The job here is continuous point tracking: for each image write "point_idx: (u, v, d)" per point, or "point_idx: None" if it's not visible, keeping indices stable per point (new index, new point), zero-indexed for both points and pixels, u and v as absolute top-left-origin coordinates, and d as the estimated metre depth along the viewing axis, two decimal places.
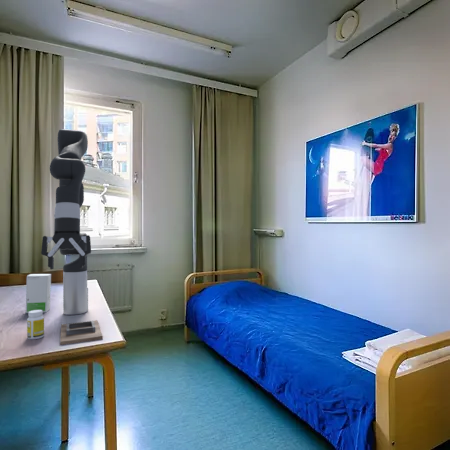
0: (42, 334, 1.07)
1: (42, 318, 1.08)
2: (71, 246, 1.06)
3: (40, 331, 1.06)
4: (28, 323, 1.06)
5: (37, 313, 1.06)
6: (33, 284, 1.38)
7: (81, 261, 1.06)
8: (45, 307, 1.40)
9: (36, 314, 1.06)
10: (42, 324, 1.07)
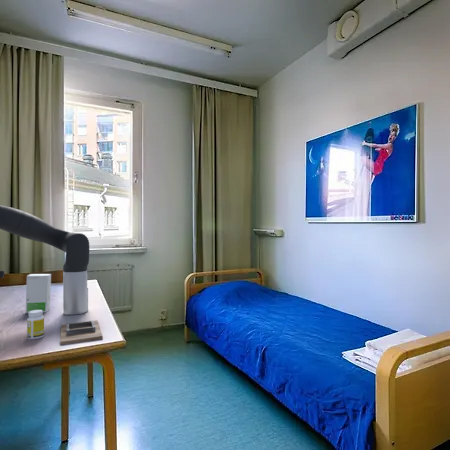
0: (42, 334, 1.07)
1: (42, 318, 1.08)
2: None
3: (40, 331, 1.06)
4: (28, 323, 1.06)
5: (37, 313, 1.06)
6: (33, 284, 1.38)
7: None
8: (45, 307, 1.40)
9: (36, 314, 1.06)
10: (42, 324, 1.07)
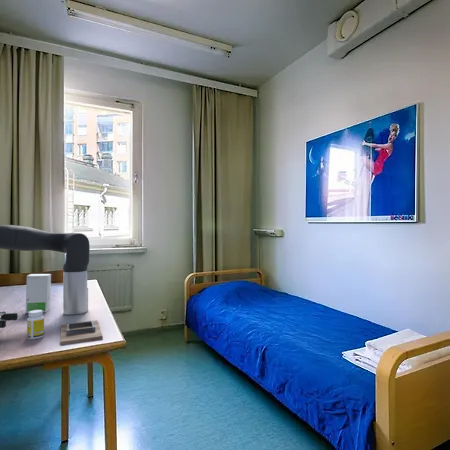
0: (42, 334, 1.07)
1: (42, 318, 1.08)
2: None
3: (40, 331, 1.06)
4: (28, 323, 1.06)
5: (37, 313, 1.06)
6: (33, 284, 1.38)
7: None
8: (45, 307, 1.40)
9: (36, 314, 1.06)
10: (42, 324, 1.07)
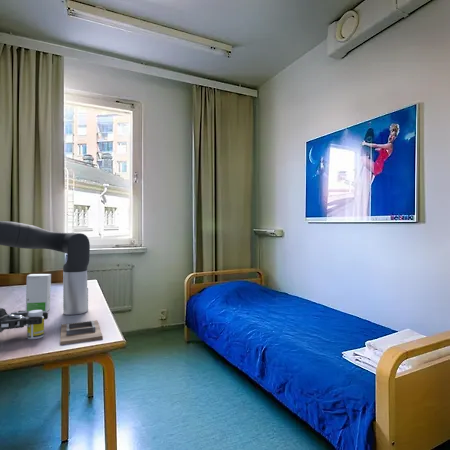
0: (42, 334, 1.07)
1: (42, 318, 1.08)
2: None
3: (40, 331, 1.06)
4: None
5: (37, 313, 1.06)
6: (33, 284, 1.38)
7: None
8: (45, 307, 1.40)
9: (36, 314, 1.06)
10: (42, 324, 1.07)
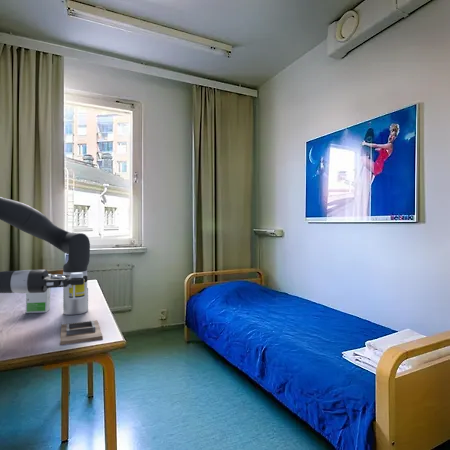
0: (83, 295, 1.11)
1: None
2: None
3: (81, 292, 1.10)
4: None
5: (79, 274, 1.10)
6: None
7: (77, 284, 1.09)
8: (45, 307, 1.40)
9: (78, 275, 1.10)
10: (83, 285, 1.11)
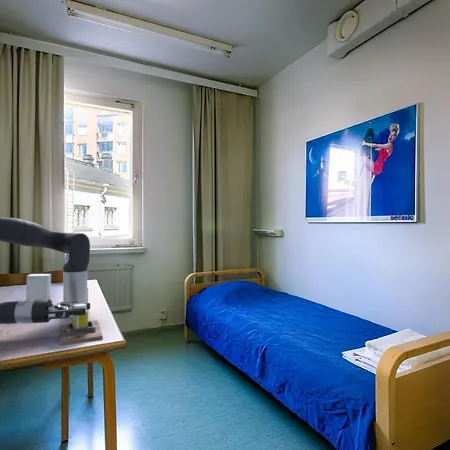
0: (86, 327, 1.11)
1: (86, 311, 1.12)
2: None
3: (84, 324, 1.10)
4: (74, 316, 1.10)
5: (82, 307, 1.10)
6: (33, 284, 1.38)
7: None
8: None
9: (81, 307, 1.10)
10: (86, 317, 1.11)
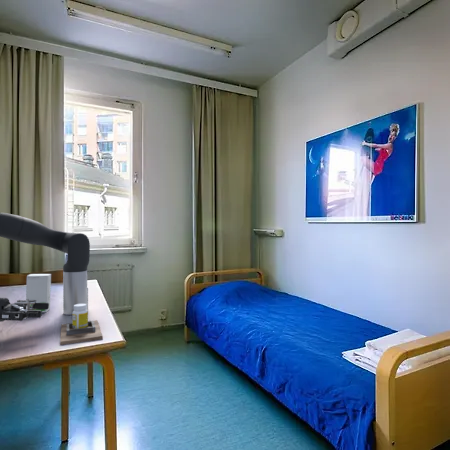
0: (86, 327, 1.11)
1: (86, 311, 1.12)
2: None
3: (84, 324, 1.10)
4: (74, 316, 1.10)
5: (82, 307, 1.10)
6: (33, 284, 1.38)
7: None
8: None
9: (81, 307, 1.10)
10: (86, 317, 1.11)
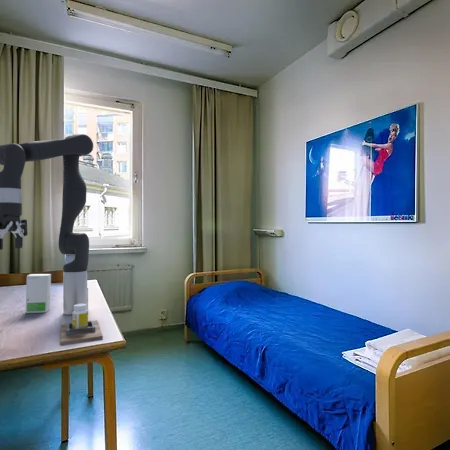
0: (86, 327, 1.11)
1: (86, 311, 1.12)
2: None
3: (84, 324, 1.10)
4: (74, 316, 1.10)
5: (82, 307, 1.10)
6: (32, 284, 1.38)
7: None
8: (45, 307, 1.40)
9: (81, 307, 1.10)
10: (86, 317, 1.11)
